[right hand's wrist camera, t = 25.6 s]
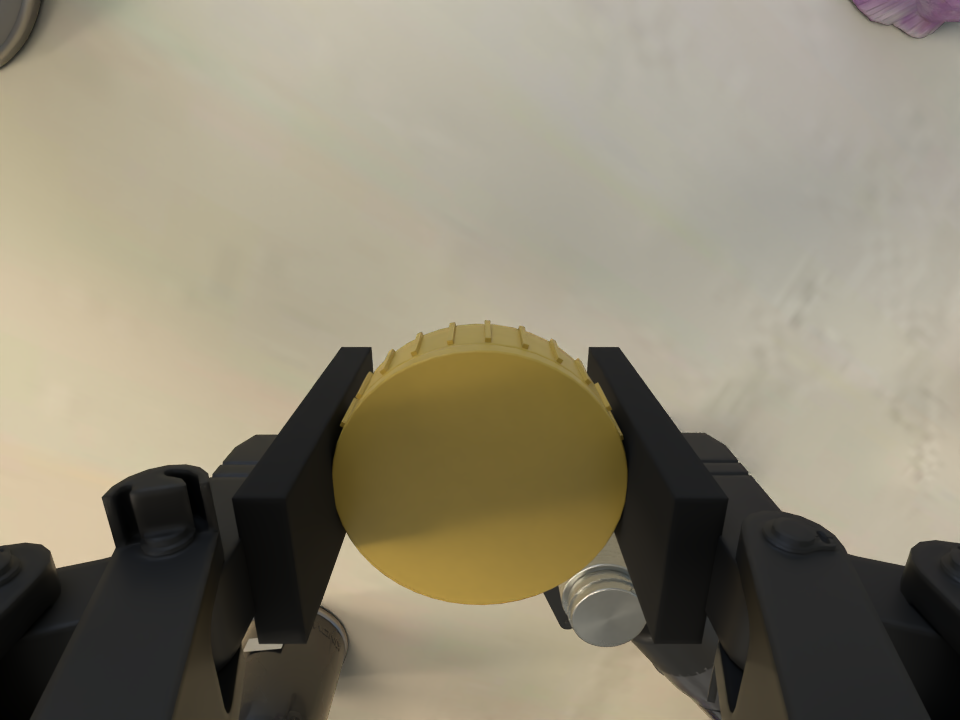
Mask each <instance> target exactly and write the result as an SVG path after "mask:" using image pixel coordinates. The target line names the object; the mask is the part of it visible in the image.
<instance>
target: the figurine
mask: <svg viewBox="0 0 960 720" xmlns="http://www.w3.org/2000/svg"><path fill="white" fill-rule="evenodd" d="M852 1H853V2H854V4H855V5H856V6H857V8H858V9H859V10H860V11H861V12H862V13H864V14H865V15H866V16H867V17H868V18H869V19H870V21H874V22H878V23H882V24H886V25H891V24H893V25H894V26H895V27H898V28H900V29H901V30H902V31H904V32H905V33H907V34H908V35H910V36H912V37H916V38H923V37H926V36H927V35H929V34H932V33H933V32H934V31H935V30H937V29H938V28H939V27H940V26H941V25H942V24H943V23H944V22H945V21H947V22H960V0H852Z"/></svg>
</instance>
